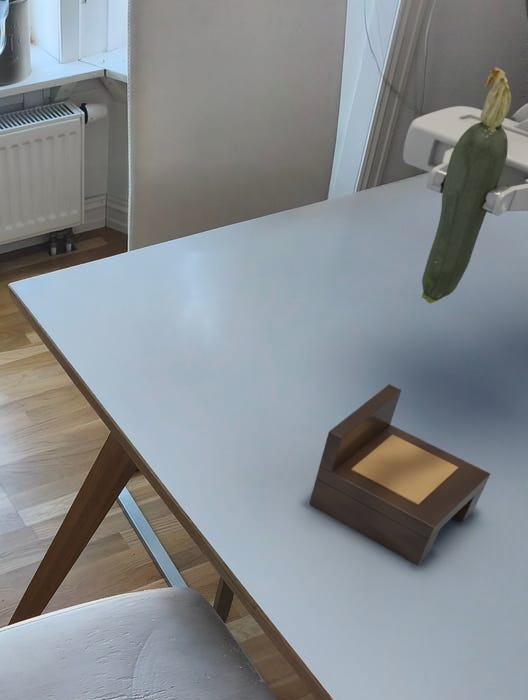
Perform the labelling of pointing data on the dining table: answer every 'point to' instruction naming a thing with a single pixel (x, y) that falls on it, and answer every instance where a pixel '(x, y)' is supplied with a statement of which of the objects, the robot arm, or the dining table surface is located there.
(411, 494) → the wooden toy chair
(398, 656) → the dining table surface
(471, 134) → the vegetable
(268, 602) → the dining table surface
